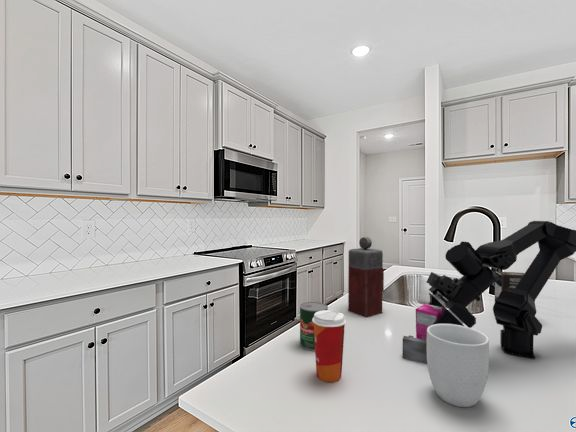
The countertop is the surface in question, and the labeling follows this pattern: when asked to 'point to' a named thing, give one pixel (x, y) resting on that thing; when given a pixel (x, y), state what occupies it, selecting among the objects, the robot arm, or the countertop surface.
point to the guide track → (414, 349)
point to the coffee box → (508, 282)
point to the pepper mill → (365, 279)
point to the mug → (457, 363)
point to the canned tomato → (309, 323)
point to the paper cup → (329, 344)
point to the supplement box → (426, 319)
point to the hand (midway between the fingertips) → (425, 325)
